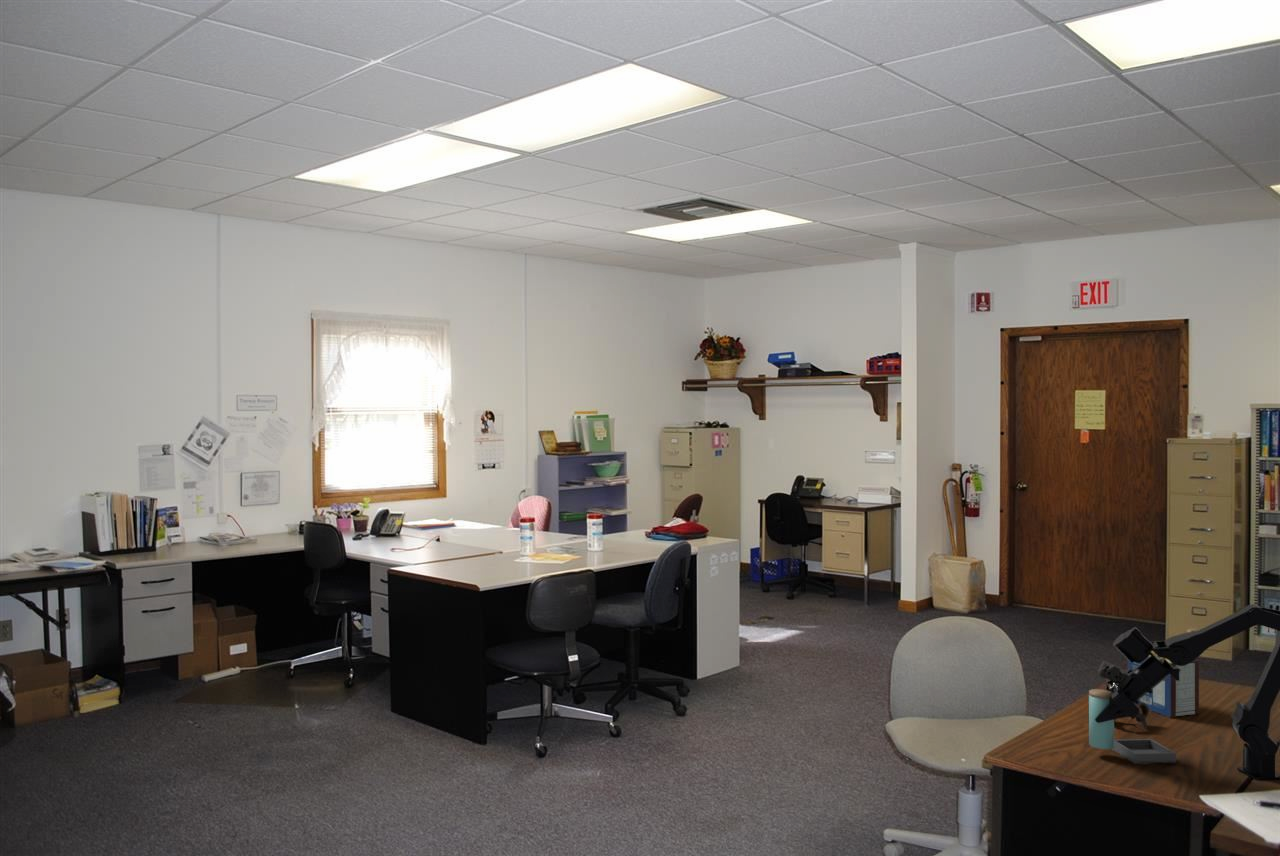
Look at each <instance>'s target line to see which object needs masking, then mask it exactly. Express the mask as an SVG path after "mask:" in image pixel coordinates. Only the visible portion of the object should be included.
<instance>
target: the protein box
mask: <svg viewBox="0 0 1280 856" xmlns="http://www.w3.org/2000/svg"><path fill="white" fill-rule="evenodd" d="M1151 652H1152V653H1153V654H1154V655H1155V656H1156V657H1157V658H1159V659H1161V657H1159V656H1158V655H1156V654H1155V653H1154V652H1153V651H1151ZM1150 656H1151V655H1149V656H1148V657H1147V658H1149V657H1150ZM1147 658H1146V659H1147ZM1146 659H1145V660H1146ZM1164 659H1165V658H1164ZM1145 660H1144V661H1145ZM1165 660H1166V661H1168V662H1169V663H1170V664H1171V665H1172V666H1173V667H1179V669H1180V672H1179V678H1180V680H1179V681H1177V680H1176V679H1175V678H1174V677H1173V676H1172V675H1169V676H1168V677H1167V678H1166V679H1164V680H1163V681H1162V682H1161V683H1159V684H1158V685H1157V686H1155V687H1154V688H1153V689H1152V690H1153V692H1152V693H1151V694H1149V693H1147V694H1146V695H1144V696H1143V697H1142V698H1141V699H1139V702H1143V703H1145V704H1146V705H1147V707H1148V709H1149V710H1152V711H1154V712H1153V713H1155V712H1157V713H1156V714H1158V713H1160V714H1162V715H1161V716H1163V715H1165V716H1164V717H1166V716H1169V717H1174V718H1177V717H1176V716H1182V717H1186V716H1185V715H1190V716H1196V714H1198V715H1200V703H1199V702H1200V660H1199V659H1198V658H1196V659H1195V660H1193V661H1192V662H1191V663H1189V664H1187V665H1184V666H1179V665H1175V664H1173V663H1172V662H1170V661H1169V659H1165ZM1144 661H1142V662H1141V663H1143V662H1144ZM1141 663H1136V662H1132V663H1131V662H1130V661H1129V660H1128V659H1127V670H1128V669H1133V670H1134V669H1135V668H1137V667H1138V666H1139V665H1140V664H1141ZM1152 711H1151V712H1152ZM1160 714H1159V715H1160Z"/></svg>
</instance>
